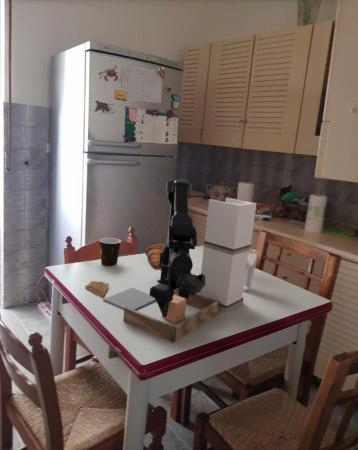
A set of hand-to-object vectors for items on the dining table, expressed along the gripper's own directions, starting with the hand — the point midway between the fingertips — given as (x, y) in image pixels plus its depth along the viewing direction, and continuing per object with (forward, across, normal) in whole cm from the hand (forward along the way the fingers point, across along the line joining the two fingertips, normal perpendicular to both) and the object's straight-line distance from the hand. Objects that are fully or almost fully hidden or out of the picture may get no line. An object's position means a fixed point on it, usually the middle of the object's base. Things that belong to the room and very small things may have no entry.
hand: (173, 312), depth 115 cm
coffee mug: (+2, +19, +47) cm, 51 cm away
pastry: (+2, +40, +36) cm, 53 cm away
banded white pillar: (+2, +21, -5) cm, 22 cm away
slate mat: (+2, 0, +17) cm, 17 cm away
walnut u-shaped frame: (+2, 0, 0) cm, 2 cm away
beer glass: (+2, +39, -5) cm, 39 cm away
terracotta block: (+2, 0, 0) cm, 2 cm away
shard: (+2, -1, +30) cm, 30 cm away
